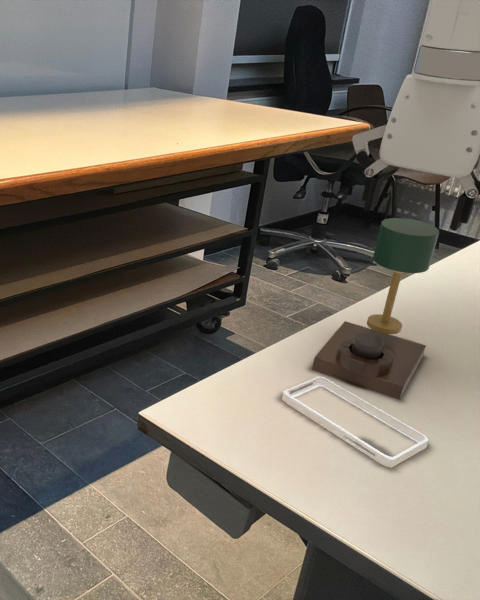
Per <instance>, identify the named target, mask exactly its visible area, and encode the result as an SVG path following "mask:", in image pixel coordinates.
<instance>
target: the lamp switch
mask: <svg viewBox="0 0 480 600" xmlns="http://www.w3.org/2000/svg"><path fill="white" fill-rule="evenodd" d="M383 346H384V341H383V340H382V339H381V338H380V337H378V336H376V335H373V334H369V333H358V334H356V335H355V336H354V339H353V343H352V347H351V352H352V353H353V354H354V355H356V356H358V357H361V358H364V359H370V360H377V359H380V357H381V354H382V350H383Z"/></svg>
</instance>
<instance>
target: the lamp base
mask: <svg viewBox="0 0 480 600" xmlns="http://www.w3.org/2000/svg"><path fill="white" fill-rule="evenodd" d="M358 333H369V334H373V335H376V336H378V337H380V338H381V339H382V340H383V341H384V346H383V350H382V354H381V357H380V359H377V360H370V359H364V358H361V357H358V356H356V355H354V354H353V353H352V352H351V347H352V343H353V339H354V336H355V335H356V334H358ZM426 347H427V345H426V344H422V343H419V342H416V341H413V340H410V339H407V338H403V337H399V336H396V335H394V334H384V333H380V332H377V331H374V330H372V329H371V328H369V327H366V326H363V325H360V324H356V323H352V322H349V321H346V320H345V321H343V323H342V324H341V325H340V326H339V327H338V329H337V330H336V331H335V332H334V333H333V335H332V336H331V337H330V338H329V339H328V341H327V342H326V343H325V344H324V345H323V346H322V347H321V349H319V351H318V352H317V354H316V355H314V358H313V363H312V367H311V370H312V371H315V372H318V373H319V374H320V373H321V374H323V375H327V376H330V377H332V378H335V379H338V380H340V381H344V382H347V383H349V384H352V385H356V386H358V387H361V388H363V389H367V390H370V391H373V392H375V393H379V394H382V395H385V396H388V397H391V398H394V399H396V400H399V401H400V400H401V398H402V396H403V395H404V393H405V391H406V389H407V387H408V385H409V383H410V382H411V380H412V378H413V376H414V374H415V372H416V370H417V369H418V367H419V365H420V363H421V362H422V359H423V357H424V354H425V351H426Z"/></svg>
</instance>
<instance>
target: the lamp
mask: <svg viewBox="0 0 480 600" xmlns="http://www.w3.org/2000/svg"><path fill="white" fill-rule="evenodd" d="M439 235H440V230H439V229H438V228H437V227H436V226H434V225H433V224H430V223H428V222H425V221H421V220H416V219H412V218H406V217H404V218H403V217H391V218H389V217H388V218H385V219H383V220H381V222H380V227H379V232H378V235H377V240H376V243H375V247H374V252H373V256H372V261H373V262H374V263H375V264H377V265H378V266H380V267H382V268H385V269H388V270H390V271H392V272H393V273H392V277H391V281H390V285H389V289H388V293H387V296H386V300H385V304H384V308H383V311H382V313H381V314H378V313H376V314H370V315H369V316H368V317H367V320H366V325H367V328H370V329H372V330H374V331H377V332H380V333H384V334H390V335H396V334H399V333H400V332H401V331H402V328H403V323H402V322H401V321H400V320H399V319H397V318H395V317H393V316H392V312H393V309H394V306H395V305H394V304H395V301H396V298H397V294H398V290H399V286H400V283H401V278H402V275H403V274H405V273H406V274H421V273H425V272H427V271H428V270H429V269H430V266H431V264H432V263H431V262H432V259H433V255H434V251H435V249H436V246H437V241H438V238H439Z"/></svg>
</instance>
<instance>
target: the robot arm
mask: <svg viewBox="0 0 480 600" xmlns="http://www.w3.org/2000/svg"><path fill="white" fill-rule="evenodd" d="M386 123H387V124H383V125H380V126H377V127H374V128H371V129H367V130H365V131H361V132H358V133H356V134H353V136H352V138H351V141H352V145H353V148H354V152H355V154H356V156H355V159H356V160H357V162H358V164H359V165H360V166H361V168H362V169H363V171H364V175H365V177H366V178H365V179H366V180H365V183H364V188H363V191H362V192H363V193H362V197H361V201H362V202H364V207H363V211H366V212H367V211H368V212H370V211H371V210H373V209H374V208H376V207H377V206H378V203H379V201H380V200H379V199H380V197H381V196H380V195H381V192H382V188H383V184H384V181H385V180H384V179H385V176H384V174H383V170H385V169H386V168H388V167H389V166H393V167H398V168H403V169H408V170H411V171H412V170H413V171H418V172H423V173H428V174H433V175H439V176H445V177H450V178H456V179H457V181H458V182H459V185H460V186H461V188H462V190H463V192H462V193H461V195H460V196H459V197H458V199H457V202H456V205H455V209H454V212H453V215H452V218H451V221H450V225H449V229H450V230H451V231H453V232H457V230H459V229H460V227H461V226H462V224H465V225H467V224H468V223H469V221H470V219H471V215H472V212H473V209H474V206H475V203H476V200H477V197H478V196H480V178H479V177H478V175H477V173H476V171H475V170H477V169H478V168H479V166H480V0H431V2H430V6H429V10H428V14H427V18H426V22H425V27H424V29H423V34H422V38H421V42H420V46H419V49H418V53H417V56H416V61H415V64H414V69H413V72H412V73H410V74H407V75H406V76H405V78H404V80H403V82H402V84H401V87H400V88H399V91H398V94H397V96H396V99H395V101H394V104H393V106H392V109H391V112H390V115H389V117H388V121H387V122H386ZM381 138H382V139H381ZM378 139H381V143H380V146H379V147H380V148H379V159H377V160H376V159H375V157H374V156H373V154H372V153H371V151H370V150H369V142H371V141H374V140H378Z"/></svg>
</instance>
